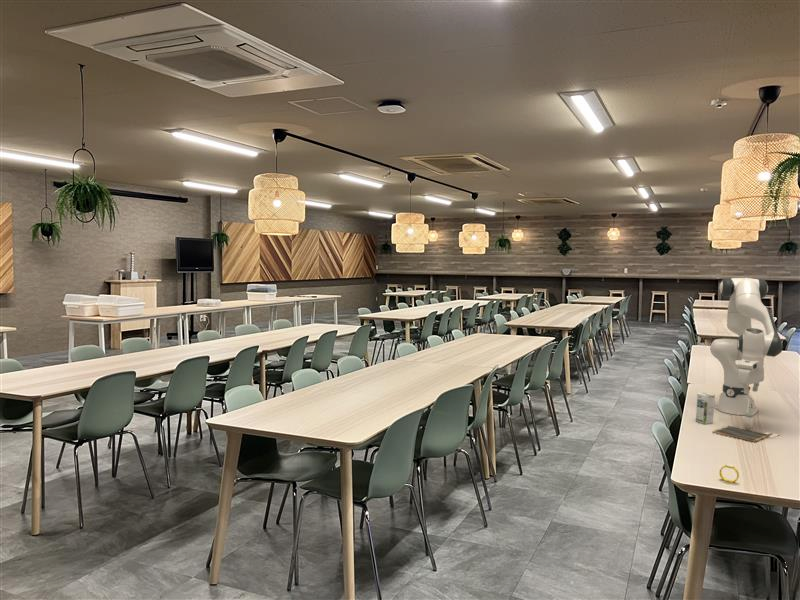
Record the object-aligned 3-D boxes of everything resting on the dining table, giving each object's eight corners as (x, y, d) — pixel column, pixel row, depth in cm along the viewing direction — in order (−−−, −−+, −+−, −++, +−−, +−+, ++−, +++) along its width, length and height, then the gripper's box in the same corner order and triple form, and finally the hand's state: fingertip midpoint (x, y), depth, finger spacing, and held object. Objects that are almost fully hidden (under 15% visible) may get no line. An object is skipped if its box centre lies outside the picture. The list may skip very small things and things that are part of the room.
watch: (738, 482, 209) (740, 466, 208) (736, 485, 207) (739, 468, 206) (719, 477, 212) (722, 461, 212) (718, 479, 210) (720, 463, 210)
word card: (767, 432, 273) (767, 431, 273) (779, 435, 270) (779, 434, 269) (760, 435, 269) (760, 434, 269) (772, 438, 265) (772, 437, 265)
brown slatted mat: (728, 427, 281) (728, 425, 281) (770, 436, 267) (770, 434, 267) (712, 433, 271) (712, 430, 271) (754, 442, 257) (754, 440, 257)
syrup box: (695, 421, 291) (696, 392, 290) (703, 420, 293) (705, 392, 292) (704, 424, 286) (706, 395, 285) (713, 423, 288) (715, 394, 287)
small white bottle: (746, 429, 278) (747, 412, 278) (753, 431, 276) (754, 414, 275) (742, 430, 276) (744, 413, 276) (750, 432, 274) (751, 415, 273)
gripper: (754, 360, 283) (752, 388, 284) (735, 364, 270) (734, 393, 271) (768, 362, 278) (767, 391, 279) (750, 366, 265) (748, 396, 266)
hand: (750, 392), depth 275 cm, fingers open, 8 cm apart
